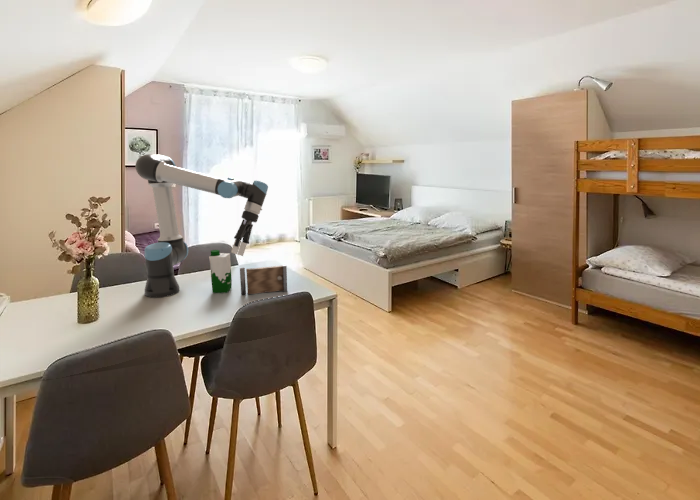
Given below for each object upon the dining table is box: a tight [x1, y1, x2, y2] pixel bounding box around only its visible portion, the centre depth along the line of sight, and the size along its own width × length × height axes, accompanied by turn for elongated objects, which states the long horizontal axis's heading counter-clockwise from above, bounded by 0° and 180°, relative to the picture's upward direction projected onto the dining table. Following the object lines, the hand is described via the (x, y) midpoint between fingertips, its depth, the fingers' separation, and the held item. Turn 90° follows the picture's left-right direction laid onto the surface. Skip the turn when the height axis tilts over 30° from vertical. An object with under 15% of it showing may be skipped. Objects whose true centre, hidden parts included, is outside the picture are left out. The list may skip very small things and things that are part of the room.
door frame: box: [239, 264, 288, 296], centre depth 190 cm, size 22×2×13 cm, turn 106°
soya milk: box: [208, 249, 233, 294], centre depth 193 cm, size 9×9×20 cm
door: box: [246, 265, 283, 295], centre depth 191 cm, size 18×4×12 cm, turn 111°
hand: (237, 254), depth 191 cm, fingers open, 13 cm apart
